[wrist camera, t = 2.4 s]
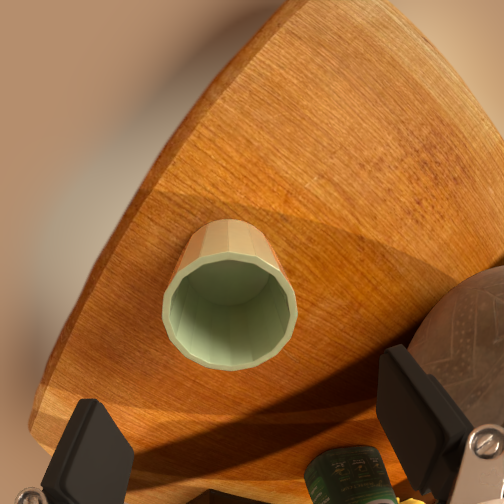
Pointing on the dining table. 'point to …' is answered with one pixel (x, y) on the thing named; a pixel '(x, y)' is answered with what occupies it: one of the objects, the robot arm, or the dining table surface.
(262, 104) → the dining table surface
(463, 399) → the bowl
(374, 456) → the coffee jar
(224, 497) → the black divided tray
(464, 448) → the robot arm
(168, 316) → the sage cup
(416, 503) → the teapot
